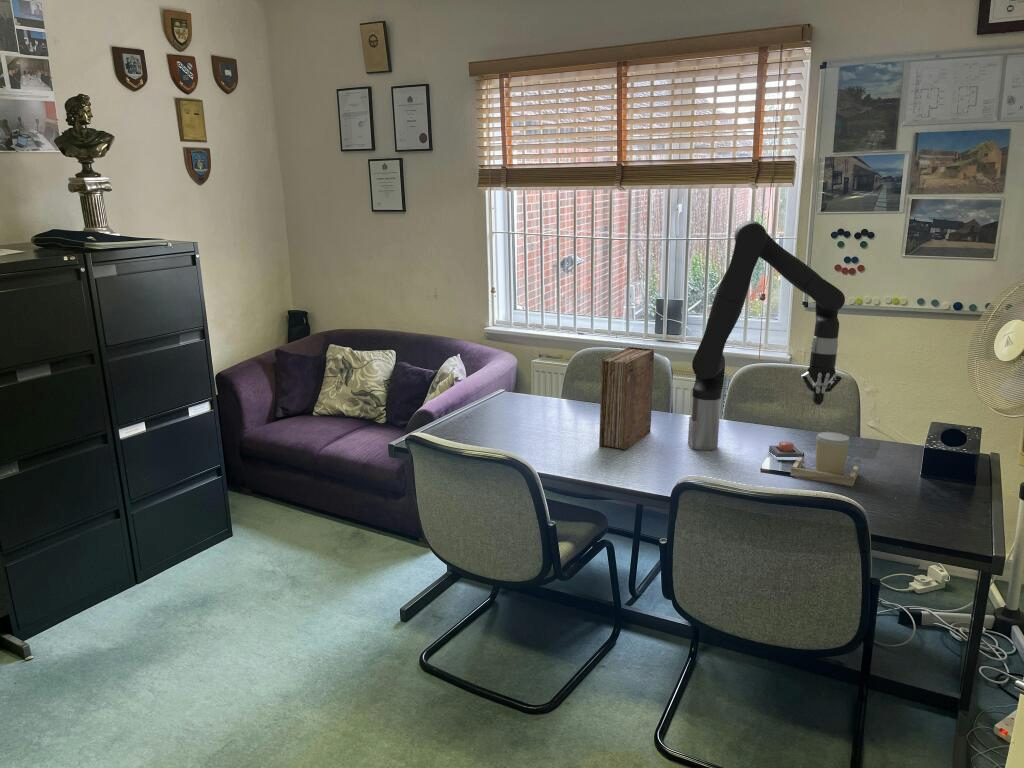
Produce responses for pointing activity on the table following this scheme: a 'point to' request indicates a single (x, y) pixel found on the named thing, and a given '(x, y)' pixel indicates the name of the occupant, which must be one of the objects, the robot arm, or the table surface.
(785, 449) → the button
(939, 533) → the table surface
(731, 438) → the table surface
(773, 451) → the button box
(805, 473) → the holder
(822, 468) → the coffee cup
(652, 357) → the brown plywood block
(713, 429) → the robot arm
